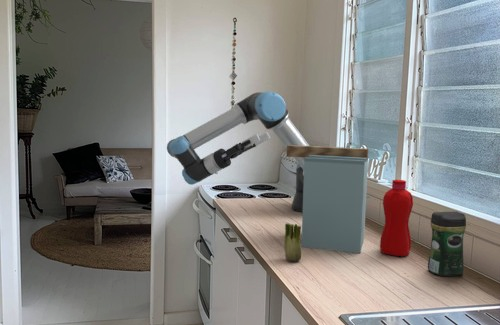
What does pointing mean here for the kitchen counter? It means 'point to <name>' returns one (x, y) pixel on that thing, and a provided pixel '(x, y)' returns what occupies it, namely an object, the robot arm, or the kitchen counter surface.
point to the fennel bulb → (292, 242)
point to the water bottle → (396, 220)
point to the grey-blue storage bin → (334, 202)
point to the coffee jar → (447, 243)
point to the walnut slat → (325, 151)
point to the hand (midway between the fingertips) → (263, 136)
